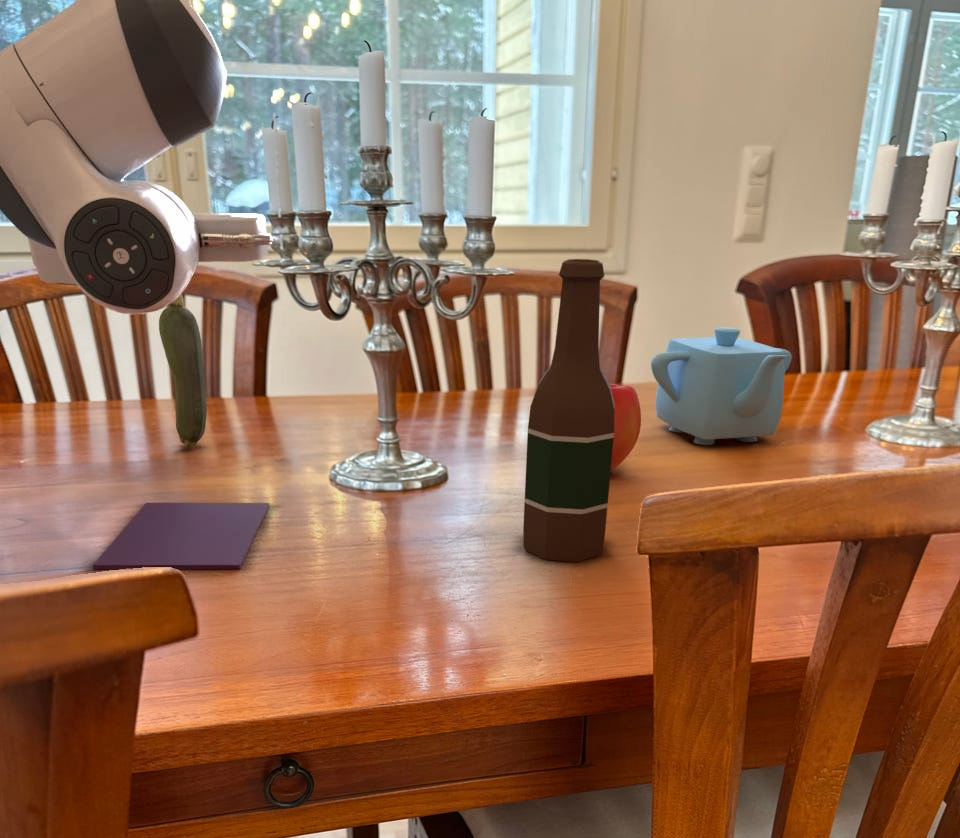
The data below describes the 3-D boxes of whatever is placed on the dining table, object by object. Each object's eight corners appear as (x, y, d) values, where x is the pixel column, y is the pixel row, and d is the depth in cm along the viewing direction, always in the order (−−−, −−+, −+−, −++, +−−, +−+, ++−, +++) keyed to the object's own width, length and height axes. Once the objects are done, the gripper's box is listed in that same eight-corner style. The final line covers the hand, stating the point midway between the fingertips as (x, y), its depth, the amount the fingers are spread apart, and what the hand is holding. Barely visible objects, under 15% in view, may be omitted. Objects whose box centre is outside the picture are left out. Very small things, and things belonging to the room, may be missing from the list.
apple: (653, 471, 103) (663, 383, 98) (602, 488, 97) (610, 395, 92) (587, 454, 109) (594, 369, 104) (536, 469, 103) (540, 380, 98)
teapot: (628, 437, 116) (639, 328, 110) (675, 413, 129) (688, 315, 122) (767, 461, 108) (787, 345, 101) (804, 433, 120) (824, 328, 114)
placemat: (93, 569, 74) (92, 565, 74) (146, 506, 88) (145, 502, 88) (239, 569, 75) (239, 564, 75) (269, 506, 89) (268, 502, 89)
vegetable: (215, 443, 109) (195, 267, 100) (212, 453, 105) (190, 270, 96) (177, 444, 108) (153, 266, 99) (173, 454, 105) (147, 270, 95)
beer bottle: (543, 526, 86) (559, 254, 75) (619, 542, 82) (647, 260, 71) (505, 551, 80) (515, 260, 69) (585, 570, 76) (609, 266, 65)
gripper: (269, 199, 74) (266, 196, 86) (2, 196, 70) (37, 193, 82) (276, 281, 77) (272, 266, 89) (19, 282, 73) (51, 267, 85)
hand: (158, 231), depth 85 cm, fingers open, 8 cm apart
